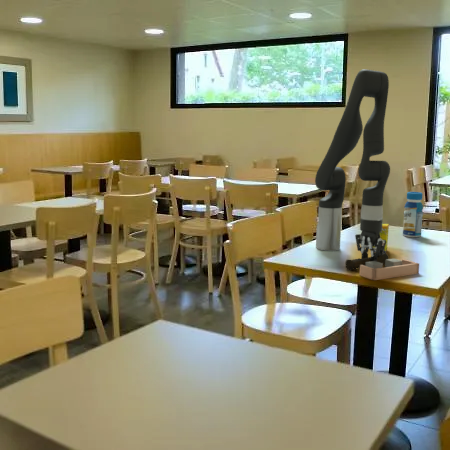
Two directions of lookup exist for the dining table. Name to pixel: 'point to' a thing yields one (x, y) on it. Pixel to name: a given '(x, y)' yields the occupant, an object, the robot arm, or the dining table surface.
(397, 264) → the stone
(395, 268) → the pink rectangular tray
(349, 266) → the hand tool
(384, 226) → the supplement box
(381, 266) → the stone
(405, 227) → the beverage bottle
